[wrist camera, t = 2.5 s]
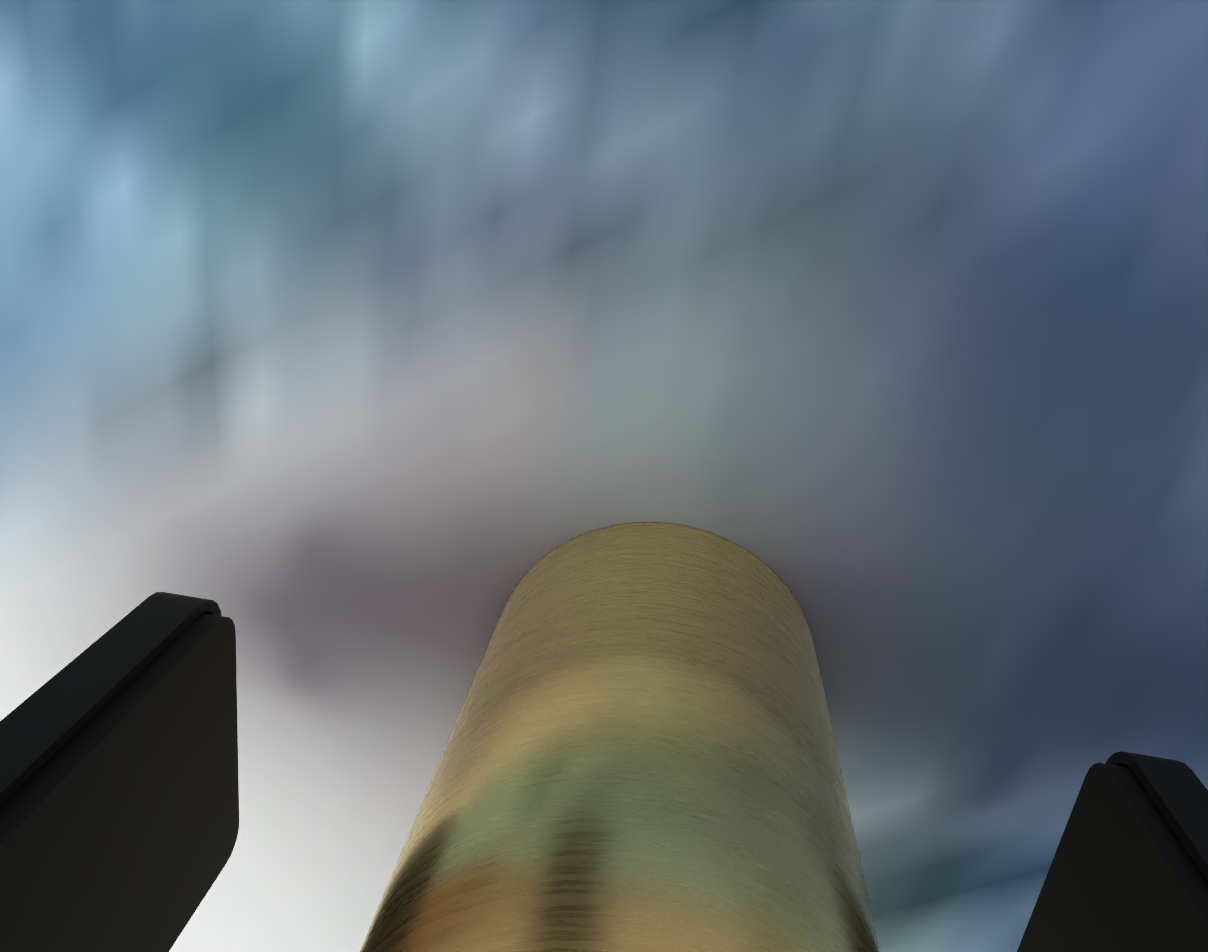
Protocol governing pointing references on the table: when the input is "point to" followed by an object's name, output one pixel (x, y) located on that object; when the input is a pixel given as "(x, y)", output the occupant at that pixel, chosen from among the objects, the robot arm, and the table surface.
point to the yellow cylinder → (637, 769)
